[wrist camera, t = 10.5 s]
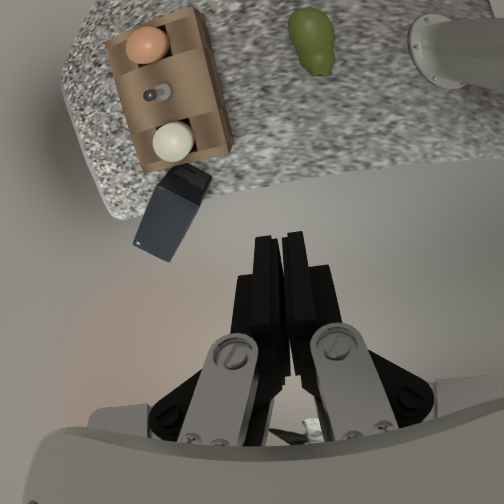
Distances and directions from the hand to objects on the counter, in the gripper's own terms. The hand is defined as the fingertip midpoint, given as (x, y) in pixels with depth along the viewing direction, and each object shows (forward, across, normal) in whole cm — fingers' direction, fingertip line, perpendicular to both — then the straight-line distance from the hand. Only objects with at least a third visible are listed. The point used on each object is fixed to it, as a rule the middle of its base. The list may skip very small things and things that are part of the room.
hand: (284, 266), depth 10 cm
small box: (+32, +16, +9) cm, 37 cm away
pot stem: (+26, +12, -8) cm, 30 cm away
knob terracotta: (+31, +12, -14) cm, 36 cm away
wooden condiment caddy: (+32, +12, -8) cm, 35 cm away
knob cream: (+31, +12, -1) cm, 34 cm away
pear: (+32, -7, -10) cm, 35 cm away
